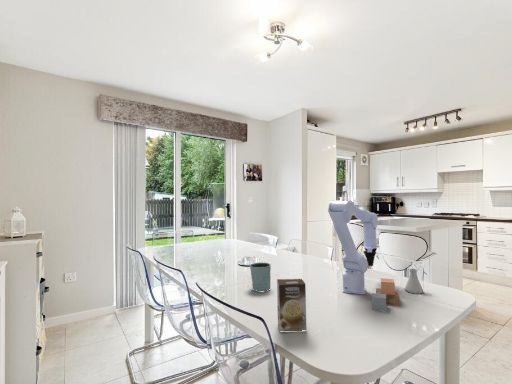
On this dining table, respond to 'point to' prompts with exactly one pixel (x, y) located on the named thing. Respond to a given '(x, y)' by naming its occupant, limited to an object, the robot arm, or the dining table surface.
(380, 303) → the slate grey block
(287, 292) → the coffee box
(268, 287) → the grey green cup
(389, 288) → the terracotta block
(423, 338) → the dining table surface
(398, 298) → the walnut base block
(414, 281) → the flask
